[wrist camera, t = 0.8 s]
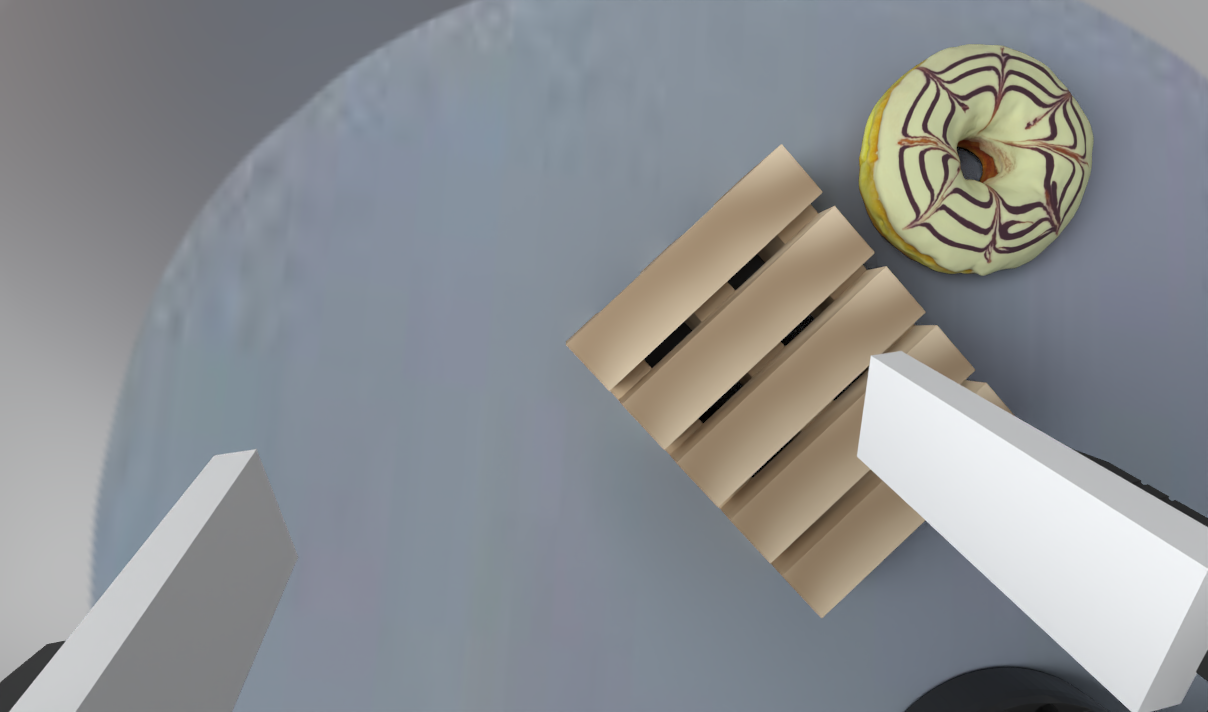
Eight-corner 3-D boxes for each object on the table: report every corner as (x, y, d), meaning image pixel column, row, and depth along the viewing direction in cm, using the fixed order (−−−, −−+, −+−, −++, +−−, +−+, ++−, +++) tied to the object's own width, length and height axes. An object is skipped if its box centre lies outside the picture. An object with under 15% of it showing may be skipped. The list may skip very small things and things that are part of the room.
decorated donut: (1032, 285, 29) (1100, 280, 26) (834, 270, 29) (875, 262, 25) (1054, 82, 29) (1127, 46, 25) (853, 62, 28) (897, 21, 24)
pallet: (945, 409, 29) (1024, 426, 24) (777, 568, 29) (821, 618, 24) (743, 177, 28) (781, 144, 23) (566, 341, 28) (565, 344, 23)
